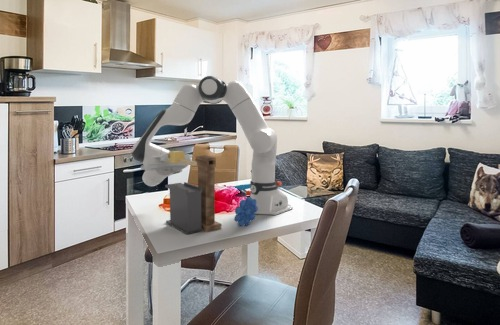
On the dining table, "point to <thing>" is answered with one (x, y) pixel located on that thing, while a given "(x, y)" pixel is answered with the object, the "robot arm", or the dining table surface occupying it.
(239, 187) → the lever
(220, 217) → the dining table surface
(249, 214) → the grapes
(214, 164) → the stand
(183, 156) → the yellow rectangular bar
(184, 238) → the dining table surface
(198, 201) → the cradle
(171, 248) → the dining table surface
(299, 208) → the dining table surface
